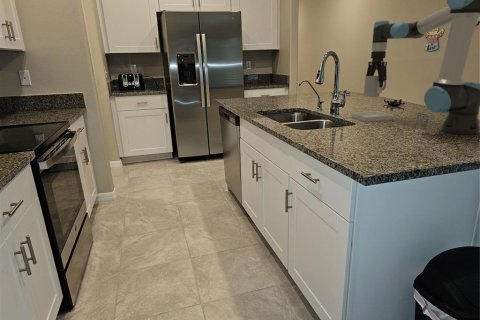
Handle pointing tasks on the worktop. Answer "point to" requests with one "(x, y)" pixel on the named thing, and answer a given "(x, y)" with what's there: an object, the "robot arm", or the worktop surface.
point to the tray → (372, 116)
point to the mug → (372, 86)
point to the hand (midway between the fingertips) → (374, 92)
